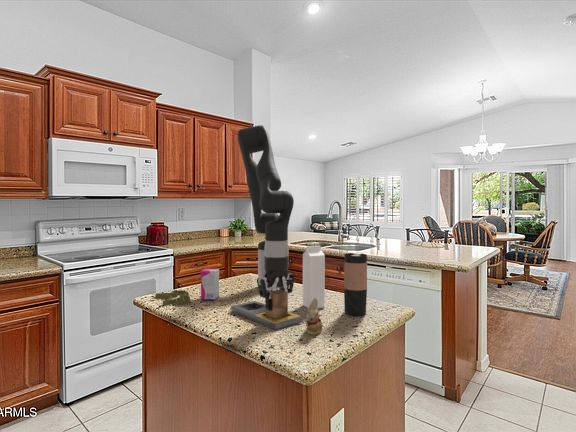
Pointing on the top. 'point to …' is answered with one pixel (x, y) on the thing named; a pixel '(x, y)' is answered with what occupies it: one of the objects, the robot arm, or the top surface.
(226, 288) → the top surface
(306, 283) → the milk
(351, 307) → the travel mug
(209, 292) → the supplement box
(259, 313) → the gray slotted board
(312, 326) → the chocolate bunny
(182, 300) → the cookie cutter
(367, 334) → the top surface
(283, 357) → the top surface
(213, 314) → the top surface
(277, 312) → the block
